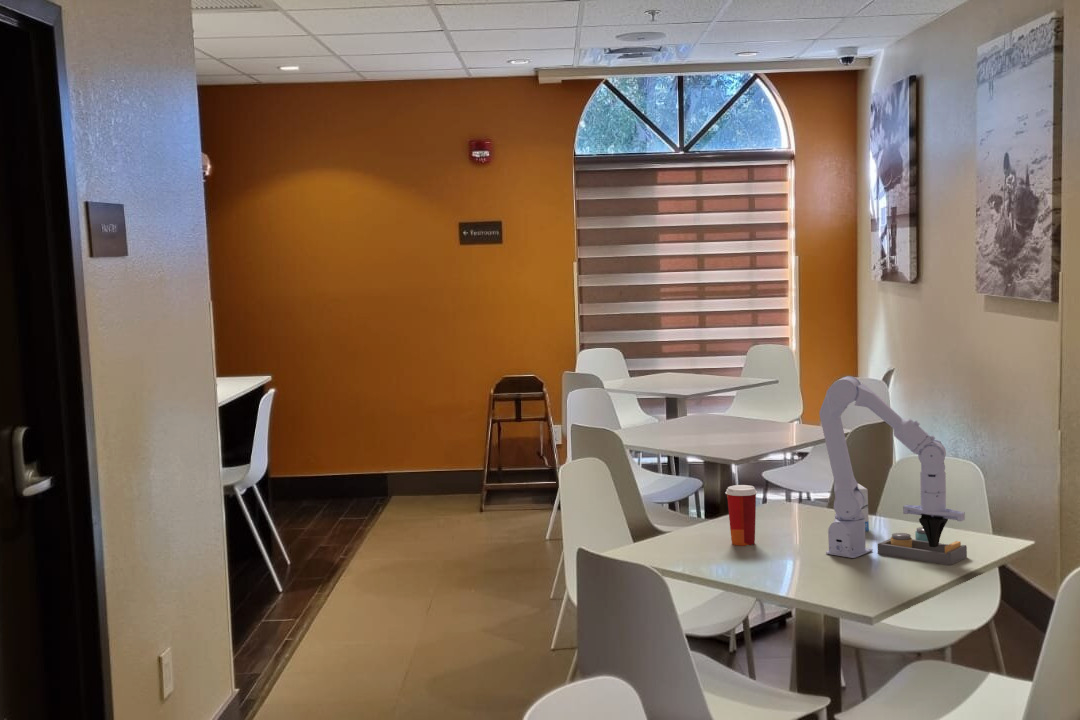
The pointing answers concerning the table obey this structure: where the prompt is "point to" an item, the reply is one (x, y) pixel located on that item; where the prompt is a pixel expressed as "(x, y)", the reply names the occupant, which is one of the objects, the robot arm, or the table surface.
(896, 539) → the amber jar
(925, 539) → the teal jar
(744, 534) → the coffee cup
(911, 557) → the grey rectangular tray
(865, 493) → the ink box
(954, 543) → the plate
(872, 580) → the table surface
